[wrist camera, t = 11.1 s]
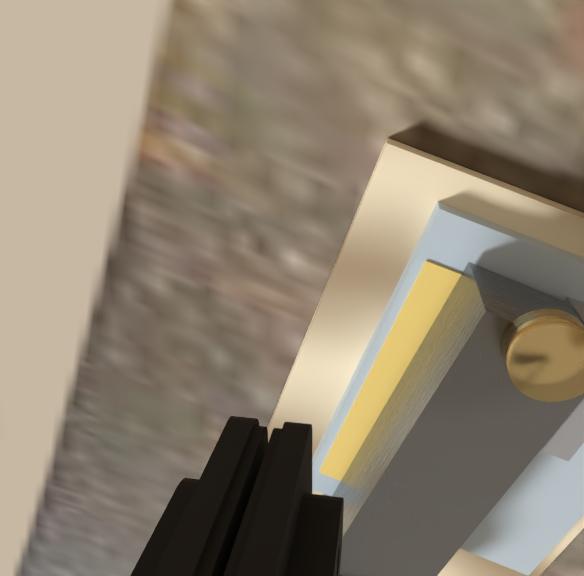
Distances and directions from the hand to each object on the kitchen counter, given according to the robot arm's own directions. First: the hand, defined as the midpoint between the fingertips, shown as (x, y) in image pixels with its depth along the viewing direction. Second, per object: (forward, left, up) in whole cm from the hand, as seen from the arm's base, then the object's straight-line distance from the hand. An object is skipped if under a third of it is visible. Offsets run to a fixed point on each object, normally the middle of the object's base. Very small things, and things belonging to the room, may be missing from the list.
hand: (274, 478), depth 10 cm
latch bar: (-3, -4, -6) cm, 8 cm away
